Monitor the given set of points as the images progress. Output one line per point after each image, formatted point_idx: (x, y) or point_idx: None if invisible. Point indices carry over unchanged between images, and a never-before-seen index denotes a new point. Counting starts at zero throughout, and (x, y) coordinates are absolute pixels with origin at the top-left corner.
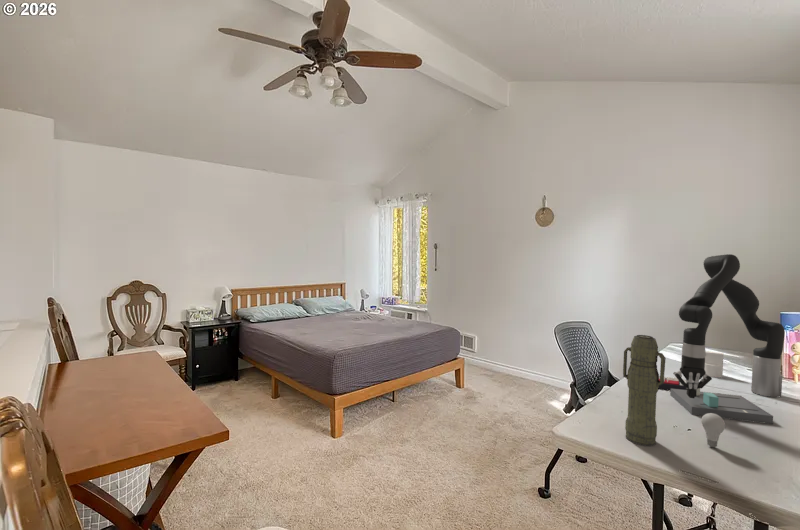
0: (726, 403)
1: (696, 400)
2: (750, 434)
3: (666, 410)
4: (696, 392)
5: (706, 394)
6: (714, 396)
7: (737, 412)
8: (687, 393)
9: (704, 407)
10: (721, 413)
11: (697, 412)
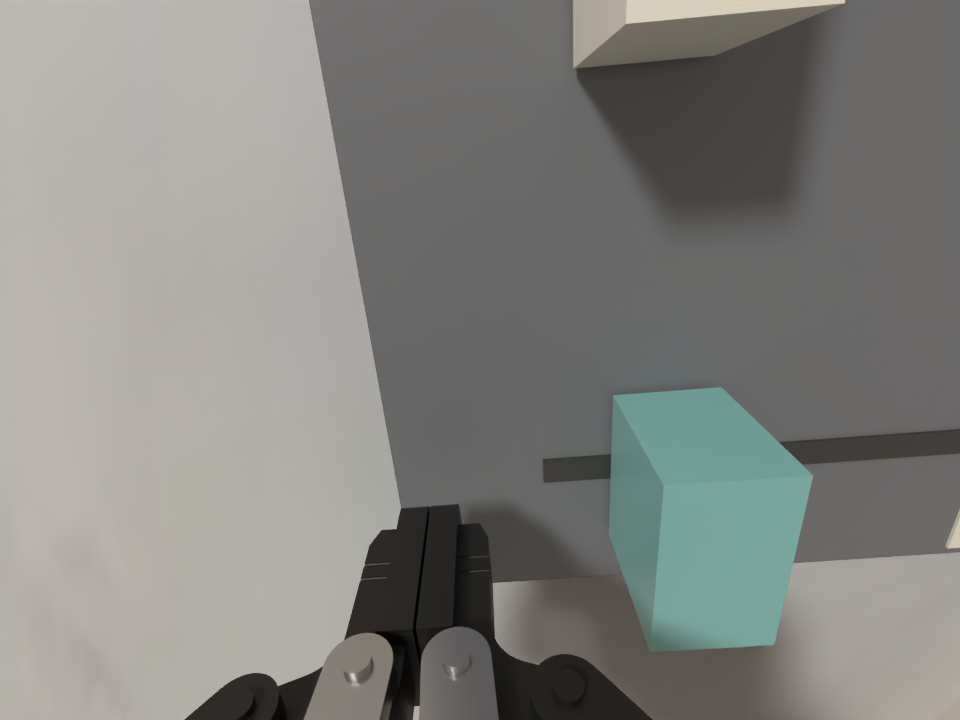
0: (950, 295)
1: (550, 341)
2: (710, 715)
3: (216, 515)
4: (493, 633)
5: (655, 574)
6: (735, 624)
7: (852, 555)
8: (376, 567)
9: (547, 560)
10: None
11: None
